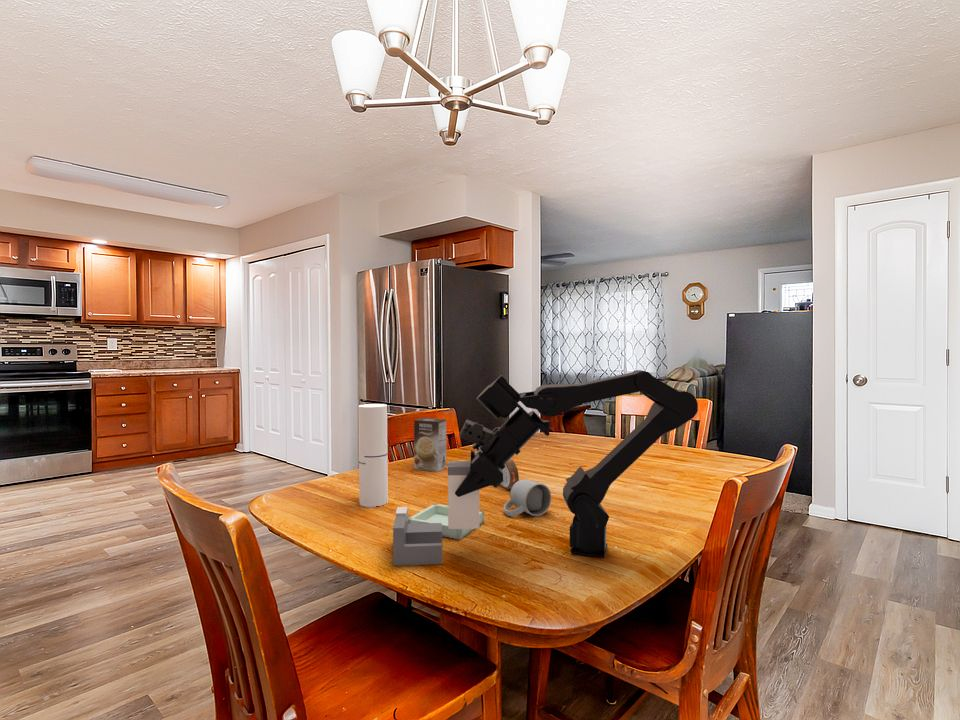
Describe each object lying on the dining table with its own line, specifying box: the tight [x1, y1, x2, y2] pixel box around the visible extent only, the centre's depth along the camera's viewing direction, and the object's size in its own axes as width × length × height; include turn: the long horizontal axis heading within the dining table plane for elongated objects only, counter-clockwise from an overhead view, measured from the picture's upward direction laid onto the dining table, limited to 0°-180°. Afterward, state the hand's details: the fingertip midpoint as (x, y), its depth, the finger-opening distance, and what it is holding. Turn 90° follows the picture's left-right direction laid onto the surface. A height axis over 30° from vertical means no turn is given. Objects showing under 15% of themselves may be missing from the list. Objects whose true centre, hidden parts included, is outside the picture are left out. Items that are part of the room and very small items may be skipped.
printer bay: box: [392, 506, 443, 567], centre depth 104 cm, size 9×12×7 cm
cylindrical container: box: [357, 403, 389, 508], centre depth 136 cm, size 7×7×25 cm
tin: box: [499, 458, 520, 490], centre depth 152 cm, size 15×3×8 cm, turn 22°
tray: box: [408, 503, 485, 541], centre depth 119 cm, size 13×12×2 cm
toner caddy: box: [447, 460, 480, 530], centre depth 105 cm, size 6×5×12 cm
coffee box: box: [413, 417, 447, 473], centre depth 172 cm, size 9×6×16 cm
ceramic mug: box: [502, 479, 552, 517], centre depth 128 cm, size 11×8×8 cm
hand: (456, 491), depth 105 cm, fingers closed on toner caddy, 5 cm apart
